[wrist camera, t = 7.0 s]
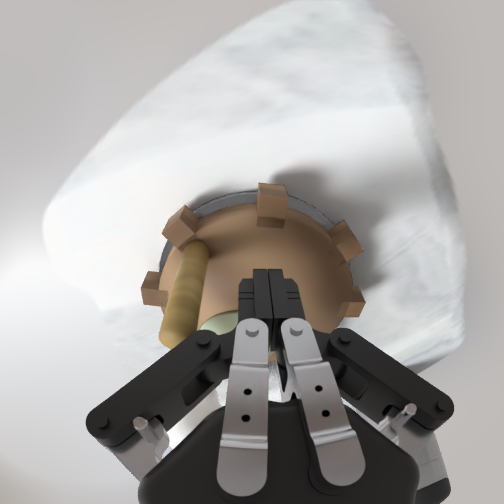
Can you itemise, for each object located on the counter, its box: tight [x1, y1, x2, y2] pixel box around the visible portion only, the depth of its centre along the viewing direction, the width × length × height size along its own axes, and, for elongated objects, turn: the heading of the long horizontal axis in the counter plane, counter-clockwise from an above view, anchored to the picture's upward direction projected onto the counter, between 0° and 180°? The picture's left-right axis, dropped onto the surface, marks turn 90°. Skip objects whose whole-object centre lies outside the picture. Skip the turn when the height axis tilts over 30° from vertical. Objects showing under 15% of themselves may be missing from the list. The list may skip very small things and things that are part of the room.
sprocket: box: [141, 183, 366, 362], centre depth 18 cm, size 17×17×9 cm
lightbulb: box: [167, 389, 222, 449], centre depth 24 cm, size 6×6×11 cm
